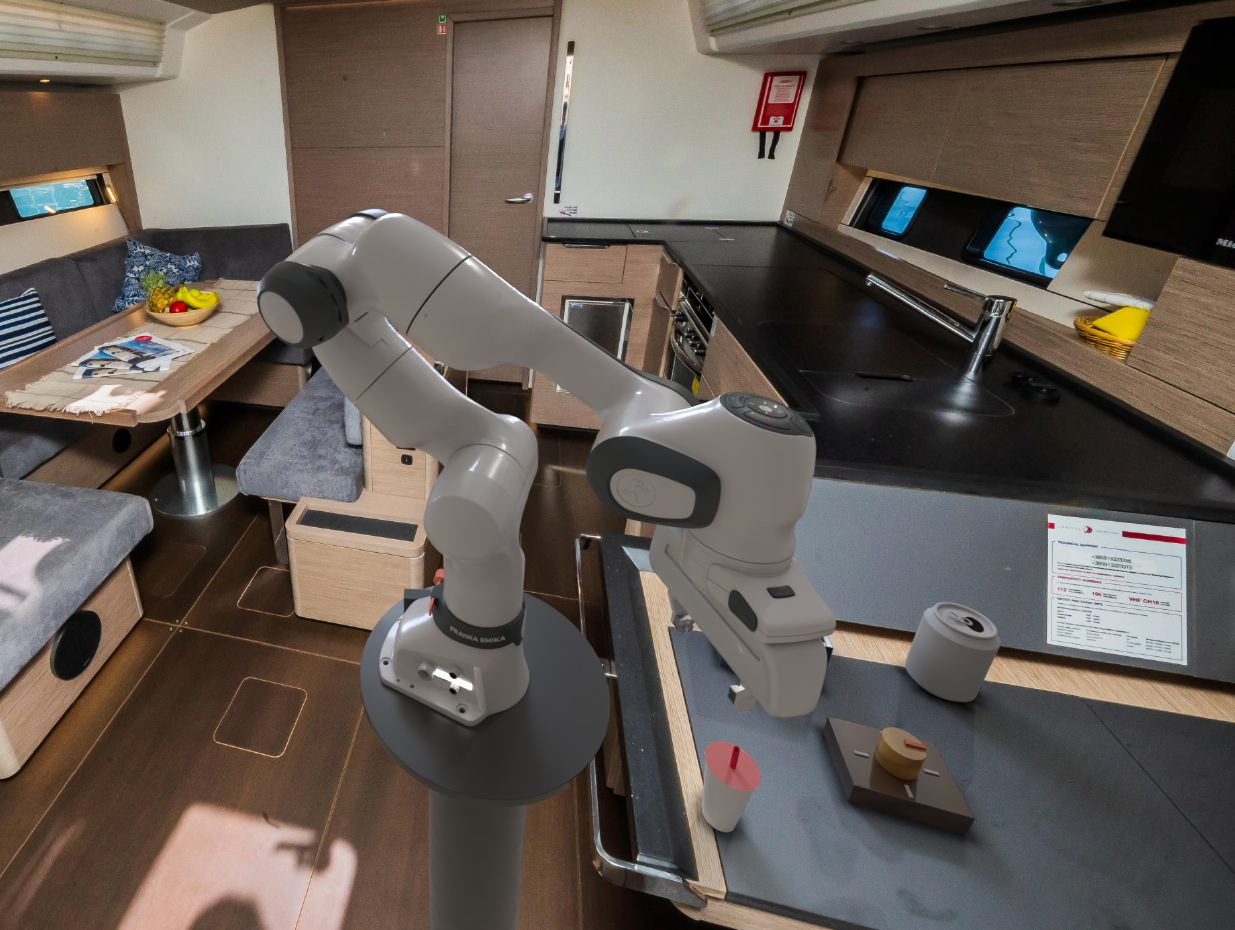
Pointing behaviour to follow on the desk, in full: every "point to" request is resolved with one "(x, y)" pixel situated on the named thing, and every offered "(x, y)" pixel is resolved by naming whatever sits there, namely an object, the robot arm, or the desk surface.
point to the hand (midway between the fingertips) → (708, 663)
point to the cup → (727, 784)
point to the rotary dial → (895, 780)
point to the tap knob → (900, 753)
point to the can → (952, 651)
